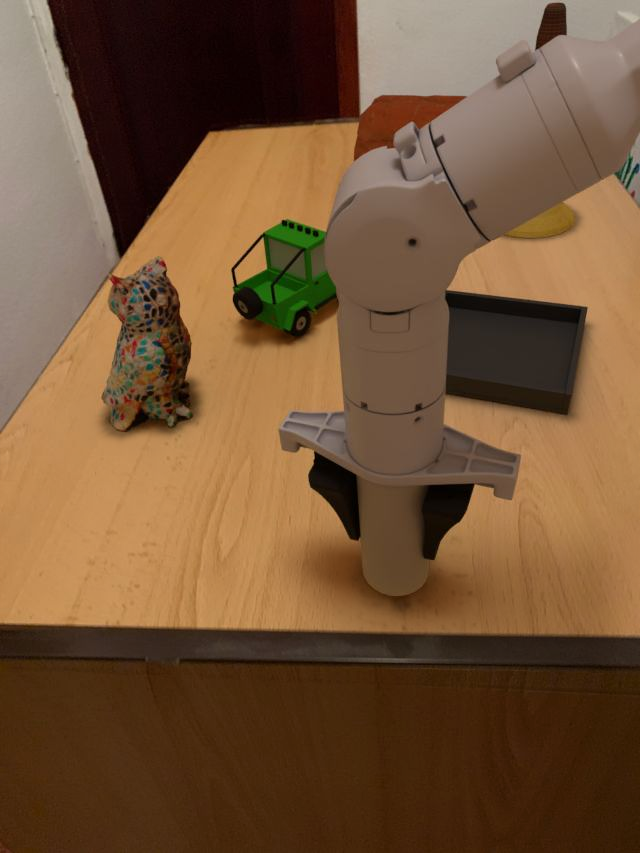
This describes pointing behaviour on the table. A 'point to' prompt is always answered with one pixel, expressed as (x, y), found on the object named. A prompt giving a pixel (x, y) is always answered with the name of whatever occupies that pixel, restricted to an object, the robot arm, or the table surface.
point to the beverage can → (392, 536)
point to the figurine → (148, 350)
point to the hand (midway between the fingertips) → (395, 539)
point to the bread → (397, 118)
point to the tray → (513, 350)
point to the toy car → (287, 279)
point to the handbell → (561, 214)
